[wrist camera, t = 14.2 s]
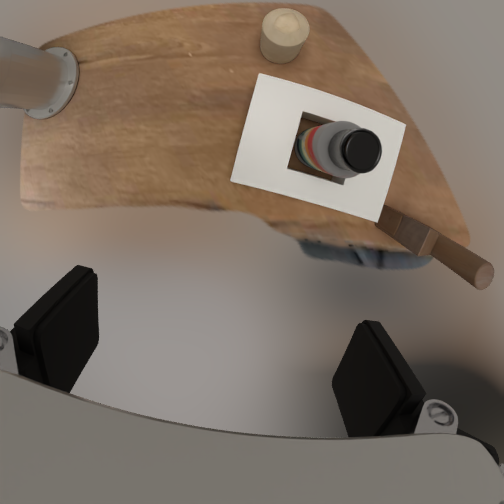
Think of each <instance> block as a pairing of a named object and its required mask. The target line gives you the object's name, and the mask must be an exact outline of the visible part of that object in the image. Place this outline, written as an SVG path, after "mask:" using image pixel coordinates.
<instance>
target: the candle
mask: <svg viewBox="0 0 504 504" xmlns="http://www.w3.org/2000/svg"><path fill="white" fill-rule="evenodd" d="M308 35H309V24H308V21H307V20H306V18H305V17H304V16H303V15H302V14H301V13H299V12H297V11H295V10H292V9H288V8H280V9H276V10H273V11H271V12H270V13H268V14H267V15H266V16H265V18H264V20H263V23H262V32H261V40H260V49H261V52H262V54H263V56H264V57H265V58H266V59H267V60H269V61H271V62H273V63H277V64H284V63H288V62H290V61H292V60H293V59H294V58H295V57H296V56H297V55H298V53H299V51H300V49H301V47H302V46H303V44H304V42H305V40H306V39H307V37H308Z"/></svg>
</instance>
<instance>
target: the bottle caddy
mask: <svg viewBox="0 0 504 504" xmlns="http://www.w3.org/2000/svg"><path fill="white" fill-rule="evenodd" d="M301 117H302V118H305V119H308V120H312V121H315V122H318V123H321V124H328V123H332V122H336V121H348V122H352V123H354V124H356V125H358V126H360V127H361V128H365V129H368V130H370V131H372V132H374V133H375V134H376V135H377V136H378V138H379V140H380V142H381V146H382V155H381V159H380V161H379V163H378V165H377V166H376V167H375V168H374V169H373V170H372V171H370V172H368V173H360V174H359V175H357V176H355V177H351V178H339V177H335V176H332V180H329V179H326V178H322V177H319V176H316V175H313V174H309V173H306V172H302V171H299V170H295V169H292V168H288V167H287V166H288V163H289V159H290V155H291V152H292V148H293V144H294V141H295V137H296V134H297V130H298V126H299V123H300V119H301ZM405 127H406V124H403V123H401V122H399V121H397V120H395V119H392V118H390V117H388V116H386V115H383V114H381V113H379V112H376V111H374V110H371V109H369V108H366V107H364V106H361V105H359V104H356V103H354V102H351V101H348V100H346V99H343V98H340V97H337V96H334V95H332V94H329V93H326V92H323V91H320V90H317V89H314V88H310V87H307V86H304V85H301V84H297V83H294V82H290V81H287V80H283V79H280V78H276V77H272V76H268V75H264V74H260V73H259V76H258V79H257V83H256V86H255V90H254V93H253V97H252V100H251V104H250V108H249V111H248V115H247V118H246V122H245V126H244V130H243V133H242V137H241V141H240V145H239V148H238V152H237V156H236V160H235V164H234V168H233V172H232V176H231V180H230V181H231V182H235V183H239V184H244V185H248V186H252V187H255V188H259V189H263V190H267V191H271V192H275V193H278V194H282V195H286V196H290V197H293V198H297V199H300V200H304V201H308V202H311V203H315V204H318V205H322V206H325V207H328V208H332V209H335V210H338V211H342V212H345V213H348V214H352V215H355V216H358V217H361V218H365V219H368V220H371V221H374V222H377V223H378V220H379V217H380V214H381V211H382V208H383V205H384V201H385V198H386V195H387V192H388V189H389V185H390V182H391V179H392V175H393V172H394V168H395V165H396V161H397V158H398V154H399V150H400V146H401V143H402V139H403V135H404V131H405Z"/></svg>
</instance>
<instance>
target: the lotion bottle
mask: <svg viewBox="0 0 504 504" xmlns="http://www.w3.org/2000/svg"><path fill="white" fill-rule="evenodd" d="M295 153H296V156H297V158H298V159H299V160H300V161H301V162H302V163H303V164H304V165H306V166H308V167H310V168H313V169H316V170H319V171H321V172H324V173H327V174H330V175H332V176H335V177H339V178H351V177H355V176H357V175H359V174H360V173H368V172H370V171H372V170H373V169H374V168H375V167H376V166H377V165H378V163H379V161H380V159H381V155H382V146H381V142H380V140H379V138H378V136H377V135H376V134H375V133H374V132H372V131H370V130H368V129H365V128H361V127H360V126H358V125H356V124H354V123H352V122H348V121H336V122H332V123H328V124H324V125H320V126H317V127H313V128H310V129H307V130H305V131H303V132H302V133H301V134H300V135H299V136H298V137H297V139H296V142H295Z"/></svg>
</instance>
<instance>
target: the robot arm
mask: <svg viewBox="0 0 504 504" xmlns="http://www.w3.org/2000/svg"><path fill="white" fill-rule="evenodd" d="M78 77H79V66H78V62H77V59H76V57H75V56H74V54H73V53H72V52H71V51H69V50H67V49H65V48H62V47H53V48H49V49H47V50H45V51H43V50H40V49H38V48H35V47H32V46H29V45H26V44H23V43H20V42H16V41H13V40H10V39H7V38H3V37H0V108H20V109H23V110H24V111H25V113H26V114H27V115H28V116H30V117H32V118H35V119H46V118H50V117H52V116H54V115H56V114H57V113H59V112H60V111H61V110H62V109H63V108H64V107H65V106H66V105H67V103H68V102H69V100H70V99H71V97H72V96H73V93H74V91H75V89H76V86H77V82H78ZM97 280H98V278H97V274H95V273H94V272H93V269H92V268H88V267H84V266H80V265H77V266H75V267H74V268H73V269H72V270H71V271H70V272H68V273H67V274H66V275H65V276H64V277H63V278H62V279H61V280H59V281H58V282H57V283H56V284H55V285H54V286H53V287H52V288H51V289H50V290H49V291H47V293H45V294H44V295H43V296H42V297H41V298H40V299H39V300H38V301H37V302H36V303H35V304H34V305H33V306H32V307H31V308H30V309H28V310H27V312H26V313H24V314H23V315H22V316H21V317H20V318H19V319H18V320H17V321H16V322H15V323H14V328H13V329H12V330H11V331H10V332H9V331H8V330H7V329H5V328H3V327H0V504H504V464H501V465H500V466H498V464H499V458H498V454H497V452H496V450H495V448H494V447H493V446H491V445H489V444H487V443H485V442H483V441H481V440H479V439H477V438H475V437H473V436H471V435H470V434H468V433H466V432H464V431H462V430H460V429H458V428H457V425H458V417H457V415H456V413H455V411H454V410H453V408H451V407H450V406H449V405H448V404H446V403H444V402H442V401H440V400H434V399H433V400H428V401H426V402H425V403H424V402H423V400H422V399H423V398H424V396H425V395H426V392H425V391H424V389H423V388H422V386H421V384H420V383H419V381H418V380H417V378H416V377H415V375H414V373H413V372H412V370H411V369H410V367H409V365H408V364H407V362H406V361H405V359H404V358H403V356H402V355H401V353H400V352H399V350H398V349H397V347H396V346H395V344H394V343H393V341H392V340H391V338H390V337H389V335H388V334H387V332H386V331H385V329H384V328H383V326H382V325H381V323H380V322H377V321H370V320H364V321H363V322H362V323H359V324H358V325H357V327H356V329H355V331H354V334H353V336H352V338H351V341H350V343H349V345H348V347H347V349H346V351H345V354H344V356H343V358H342V360H341V362H340V364H339V366H338V368H337V371H336V372H335V375H334V376H333V380H332V388H333V391H334V394H335V397H336V399H337V403H338V406H339V409H340V412H341V415H342V418H343V421H344V424H345V427H346V430H347V433H348V437H343V438H342V437H341V438H319V437H318V438H317V437H314V438H313V437H312V438H311V437H290V436H273V435H260V434H249V433H241V432H232V431H224V430H217V429H211V428H204V427H198V426H192V425H187V424H182V423H176V422H171V421H166V420H162V419H157V418H153V417H149V416H144V415H140V414H136V413H132V412H128V411H125V410H121V409H117V408H114V407H110V406H107V405H104V404H101V403H97V402H94V401H91V400H88V399H84V398H82V397H79V396H76V395H73V394H70V391H71V390H72V388H73V386H74V384H75V382H76V381H77V379H78V377H79V375H80V374H81V372H82V370H83V369H84V367H85V365H86V363H87V362H88V360H89V358H90V357H91V355H92V353H93V352H94V350H95V348H96V347H97V344H98V341H99V326H98V281H97Z"/></svg>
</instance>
